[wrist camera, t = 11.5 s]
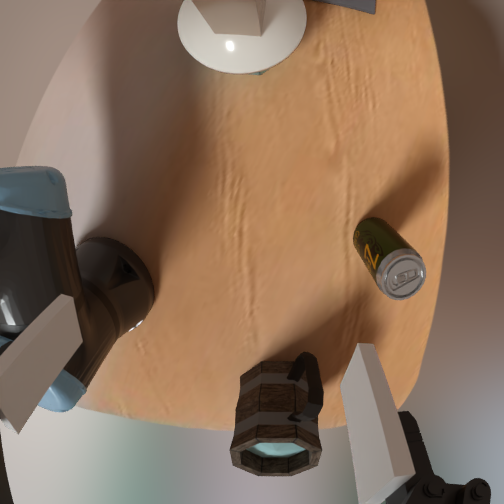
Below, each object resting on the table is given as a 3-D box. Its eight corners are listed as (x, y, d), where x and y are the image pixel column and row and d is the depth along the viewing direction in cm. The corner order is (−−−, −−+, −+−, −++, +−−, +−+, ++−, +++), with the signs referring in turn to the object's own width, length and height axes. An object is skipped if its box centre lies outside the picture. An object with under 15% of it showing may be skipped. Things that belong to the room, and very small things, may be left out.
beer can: (384, 209, 36) (424, 244, 25) (393, 246, 38) (430, 290, 27) (346, 224, 38) (373, 264, 27) (357, 260, 39) (384, 309, 28)
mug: (295, 415, 53) (296, 481, 39) (228, 398, 52) (216, 466, 38) (348, 345, 45) (368, 420, 31) (269, 320, 44) (265, 399, 30)
